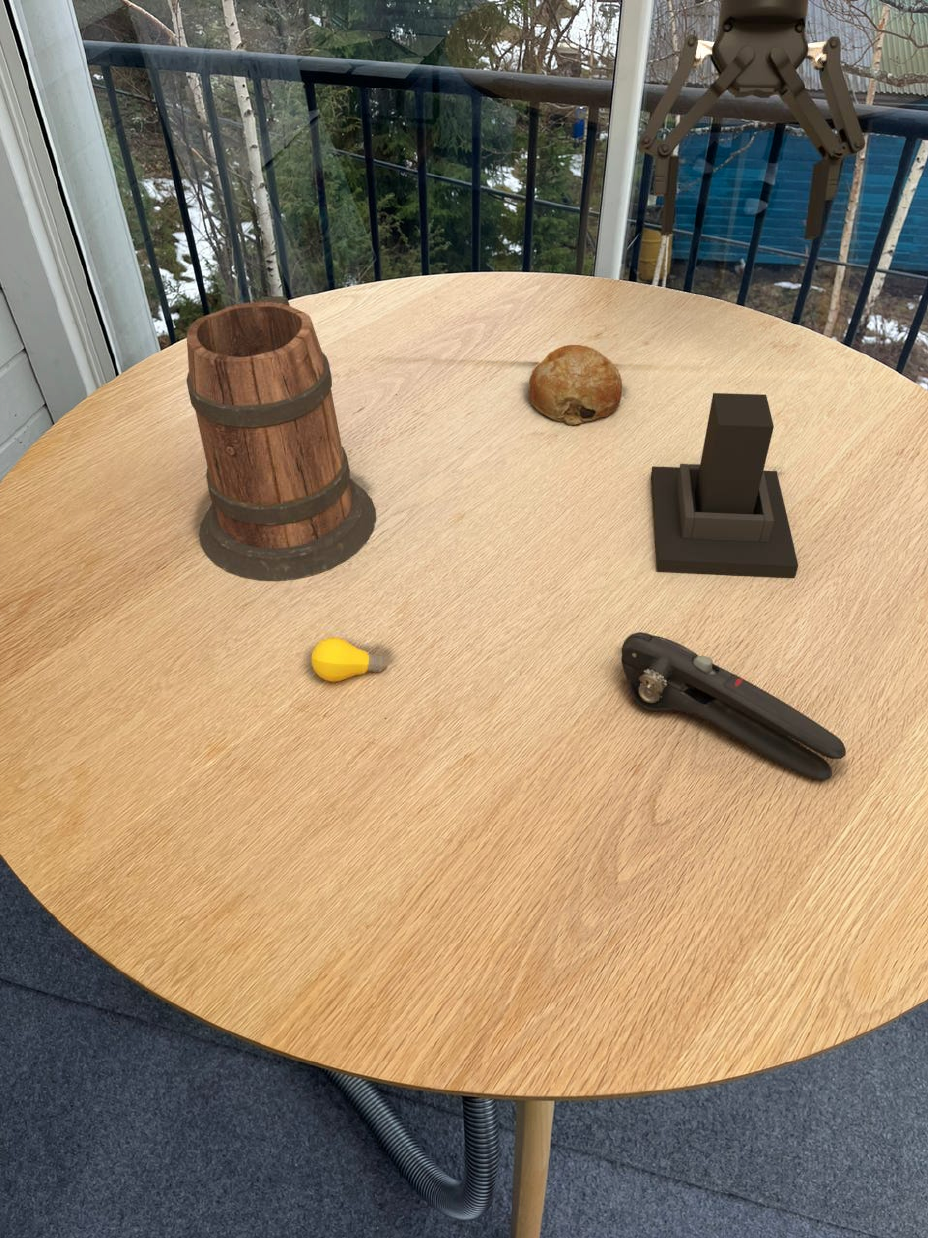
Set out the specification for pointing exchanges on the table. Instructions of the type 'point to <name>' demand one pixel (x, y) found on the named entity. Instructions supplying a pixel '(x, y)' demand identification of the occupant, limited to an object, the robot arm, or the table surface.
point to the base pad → (719, 530)
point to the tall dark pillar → (734, 453)
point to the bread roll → (575, 385)
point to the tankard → (272, 445)
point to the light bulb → (343, 660)
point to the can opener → (726, 704)
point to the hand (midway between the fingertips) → (738, 236)
